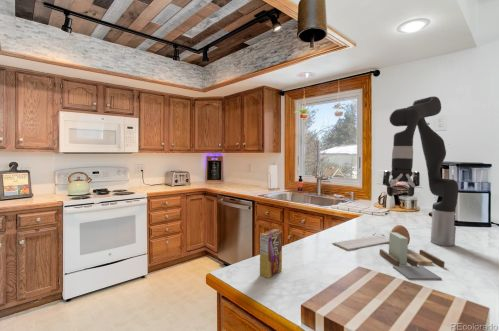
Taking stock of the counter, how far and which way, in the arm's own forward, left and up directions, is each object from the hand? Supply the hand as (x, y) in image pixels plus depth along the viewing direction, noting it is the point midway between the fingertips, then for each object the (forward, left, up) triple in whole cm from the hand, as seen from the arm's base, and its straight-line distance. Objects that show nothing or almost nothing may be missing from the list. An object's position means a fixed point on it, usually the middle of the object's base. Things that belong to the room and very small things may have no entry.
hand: (400, 196), depth 110 cm
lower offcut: (-9, 0, -28) cm, 30 cm away
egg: (-10, -15, -28) cm, 33 cm away
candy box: (+55, +12, -28) cm, 63 cm away
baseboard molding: (+5, -23, -28) cm, 37 cm away
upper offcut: (-9, 0, -27) cm, 29 cm away
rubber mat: (0, +12, -28) cm, 30 cm away
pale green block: (0, 0, -28) cm, 28 cm away
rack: (-5, 0, -27) cm, 28 cm away
